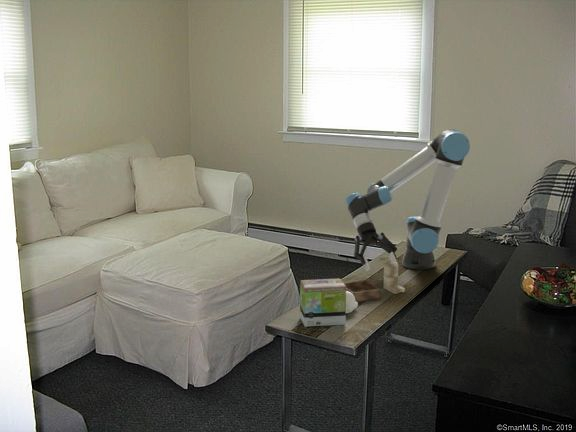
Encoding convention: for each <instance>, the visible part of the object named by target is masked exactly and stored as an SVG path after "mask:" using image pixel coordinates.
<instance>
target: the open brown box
mask: <svg viewBox="0 0 576 432" xmlns="http://www.w3.org/2000/svg"><path fill="white" fill-rule="evenodd" d="M343 283H344V285H345V286H346V291H349V292H351V293H352V294H353V295H354V297H355V302H357V303H362V302H368V301H375V300H381V288H379V287H377V285H374V284H373V283H372V282H369V281H368V280H365V279H364V280H362V279H361V280H356V281H348V282H343Z"/></svg>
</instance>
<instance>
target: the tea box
mask: <svg viewBox="0 0 576 432" xmlns="http://www.w3.org/2000/svg"><path fill="white" fill-rule="evenodd" d="M344 283H345V282H343V281H342V279H341V278H322V279H319V278H318V279H302V280H301V279H300V284H299V285H300V286H299V287H300V288H299V317H300V320H301V323H302V324H303V326H304V328H307V327H319V326H320V327H323V326H324V327H325V326H345V325H346V318H347V317H346V316H347V313H346V286H345V285H344Z"/></svg>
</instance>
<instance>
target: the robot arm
mask: <svg viewBox="0 0 576 432" xmlns="http://www.w3.org/2000/svg"><path fill="white" fill-rule="evenodd" d="M470 148H471V144H470V140H469V138H468V136H467V135H465V134H464V133H463V132H461V131H459V130H456V129H446V130H444V131H442V132H440V133H439V134H438V135H437V136H436V137H434V138H433V139H432V140H430V141H429V142H428V143H427V144H426V147H424V148H423V149H422V150H421V151H419V152H418V153H416V154H415V155H414V156H412V157H410V158H409V159H408V160H406V161H405V162H404V163H402V164H401V165H399V166H398V167H397V168H395V169H393V171H391V172H390V173H388V174H386V175H385V176H384V177H382V178H381V179H380V180H378V181H377V182H375V183H371V184H370V185H369V187H368V188H367V193H365V194H363V195H362V194H361V193H360V192H355V193H350V194H349V195H348V196H347V197H346V198H345V203H346V207H347V210H348V212H349V215H350V217H351V219H352V222H353V224H354V226H355V228H356V231H357V234H358V235H356V236H355V237H354V239H353V240H354V243H355V244H354V253H353V255H354V256H353V258H355V259H356V258H357V260H358V261H360V264H361V265H362V266H364V267H363V268H364V269H365V272H366V273H369V272H370V271H371V269H372V268H371V267H370V263H369V262H368V258H367V256H366V255H364V254H365V252H366V249H367V247H370V246H377V247H379V248H380V249H382V250H384V251H385V252H386V253H388V258H389V260H390V262H392V261H395V262H397V263H398V261H397V259H398V258H397V255H396V252H397V251H398V248H397V247H396V245H394V244H393V242H392V241H390V239H388V237H387V236H386V235H385V233H384V232H381V233H379V234H378V233H377V230H376V229H377V228H376V227H375V225H374V223H373V219H372V217H371V215H370V213H369V212H370V211H373V210H375V209H377V208H380V207H382V206H384V205H387V204H389V203H390V202H392V201H393V197H392V194H391V193H392V192H394V191H395V190H396V189H398V188H399V187H401V186H403V185H404V184H405V183H407V182H408V181H409V180H411V179H413V178H414V177H415V176H417V175H418V174H420V173H421V172H423V171H424V170H425V169H427V168H428V167H429V166H431V165H433V164H434V163H435V162H436V166H435V169H434V173H433V176H432V178H431V182H430V184H429V187H428V191H427V194H426V197H425V200H424V204H423V207H422V210H421V213H420V215H419V216H417V215H416V216H409V217H407V219H406V244H405V245H406V248H405V251H404V254H403V257H402V259H401V266H402V267H403V268H407V269H409V270H421V271H422V270H423V271H424V270H431V269H434V268H435V267H436V260H435V256H434V253H433V251H435V250H436V249H437V247H438V246H439V242H440V237H439V235H440V232H441V230H442V226H443V225H442V224H441V218H442V215H443V212H444V209H445V207H446V203H447V200H448V197H449V194H450V191H451V187H452V185H453V181H454V179H455V176H456V173H457V169H459V168H461V167H462V165H463V164H464V159H465V158H466V157H467V156H468V154H469V152H470ZM361 242H363V243H362V247H361V246H360V245H361ZM360 247H361V248H360ZM360 249H361V250H360Z"/></svg>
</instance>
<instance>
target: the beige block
mask: <svg viewBox="0 0 576 432" xmlns="http://www.w3.org/2000/svg"><path fill="white" fill-rule="evenodd" d="M383 289H384V290H386V291H388V292H390V293H392V294H394V295H395V294H401V292H402V293H405V292H406V288H405V287H404V286H400V285H399V262H398V261H397V262H395V261H392V262H391V261H388V262H387V261H386V262H384V263H383Z"/></svg>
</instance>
